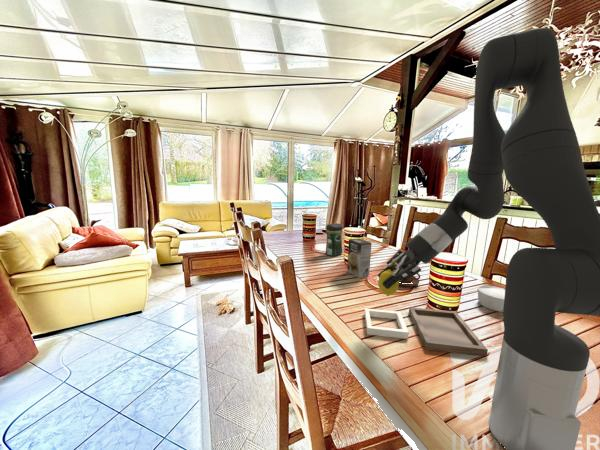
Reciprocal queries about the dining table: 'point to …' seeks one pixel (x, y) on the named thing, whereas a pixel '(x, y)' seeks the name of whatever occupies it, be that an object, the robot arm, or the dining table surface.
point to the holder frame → (382, 330)
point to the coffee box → (359, 257)
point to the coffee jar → (334, 239)
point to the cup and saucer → (412, 279)
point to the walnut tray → (446, 332)
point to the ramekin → (491, 297)
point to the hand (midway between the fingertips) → (382, 281)
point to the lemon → (383, 278)
